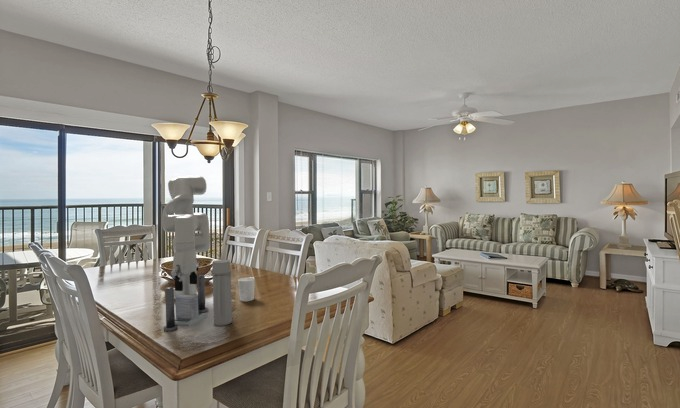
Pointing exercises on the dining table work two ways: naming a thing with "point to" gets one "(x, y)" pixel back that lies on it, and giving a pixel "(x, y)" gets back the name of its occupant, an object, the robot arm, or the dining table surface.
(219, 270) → the water bottle
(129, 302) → the dining table surface
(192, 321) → the paddle plate
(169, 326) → the post
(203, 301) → the post
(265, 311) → the dining table surface
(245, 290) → the white cup
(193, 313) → the medicine box
